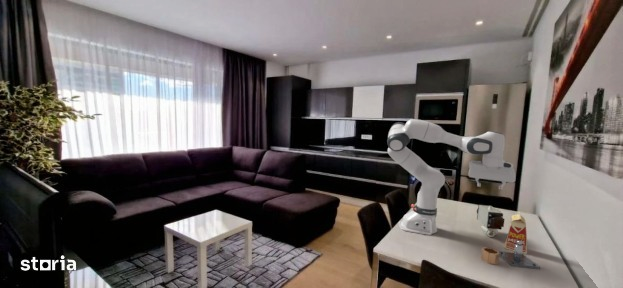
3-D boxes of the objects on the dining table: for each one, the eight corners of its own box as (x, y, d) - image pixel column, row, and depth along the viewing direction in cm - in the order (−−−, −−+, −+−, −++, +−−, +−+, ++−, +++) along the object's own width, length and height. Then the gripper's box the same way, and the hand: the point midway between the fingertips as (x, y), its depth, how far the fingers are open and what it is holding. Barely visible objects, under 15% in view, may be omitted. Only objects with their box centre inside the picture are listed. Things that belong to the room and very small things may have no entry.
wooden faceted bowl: (485, 263, 118) (486, 253, 118) (477, 255, 125) (478, 246, 125) (501, 265, 118) (502, 255, 117) (493, 257, 124) (494, 247, 124)
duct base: (511, 265, 117) (513, 245, 116) (496, 252, 129) (498, 234, 128) (539, 269, 116) (542, 248, 115) (522, 255, 128) (524, 236, 127)
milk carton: (504, 243, 141) (508, 208, 139) (526, 248, 135) (530, 213, 133) (504, 249, 134) (508, 213, 132) (526, 255, 128) (531, 217, 126)
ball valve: (504, 242, 141) (508, 212, 139) (488, 240, 143) (491, 210, 141) (489, 229, 159) (492, 202, 157) (474, 227, 160) (477, 200, 159)
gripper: (469, 160, 134) (466, 185, 135) (517, 165, 123) (514, 192, 125) (468, 159, 139) (466, 183, 140) (515, 164, 129) (512, 190, 130)
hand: (489, 188), depth 132 cm, fingers open, 8 cm apart
